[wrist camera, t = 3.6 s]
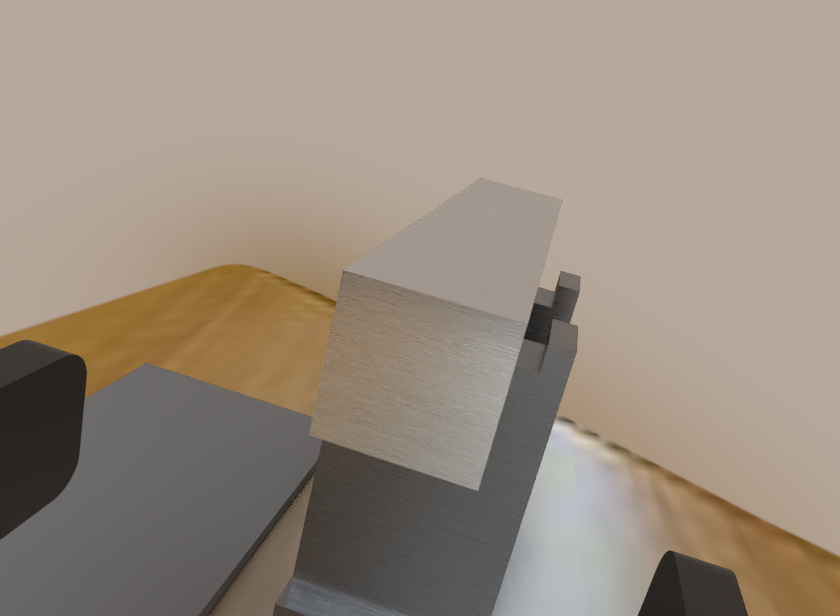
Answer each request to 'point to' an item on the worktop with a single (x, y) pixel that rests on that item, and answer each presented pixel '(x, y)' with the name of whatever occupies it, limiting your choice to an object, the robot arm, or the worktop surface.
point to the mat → (158, 501)
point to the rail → (435, 332)
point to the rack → (434, 502)
